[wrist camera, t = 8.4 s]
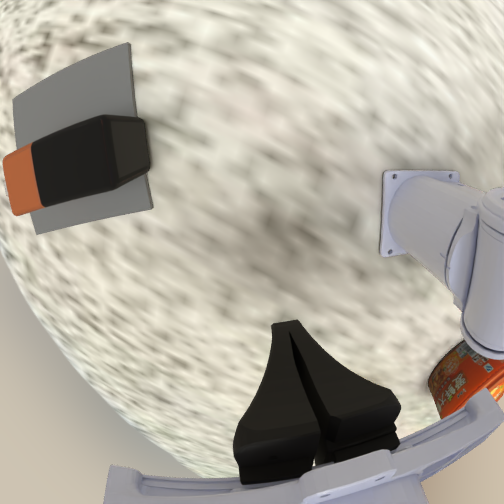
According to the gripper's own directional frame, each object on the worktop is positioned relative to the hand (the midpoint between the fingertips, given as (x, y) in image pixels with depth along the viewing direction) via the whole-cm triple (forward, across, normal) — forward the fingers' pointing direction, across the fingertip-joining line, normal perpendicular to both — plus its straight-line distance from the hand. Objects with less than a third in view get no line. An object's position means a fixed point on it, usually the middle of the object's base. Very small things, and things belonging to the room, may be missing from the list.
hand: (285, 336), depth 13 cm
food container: (+10, -32, +26) cm, 42 cm away
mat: (+11, +15, -12) cm, 22 cm away
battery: (+7, +7, -10) cm, 14 cm away
